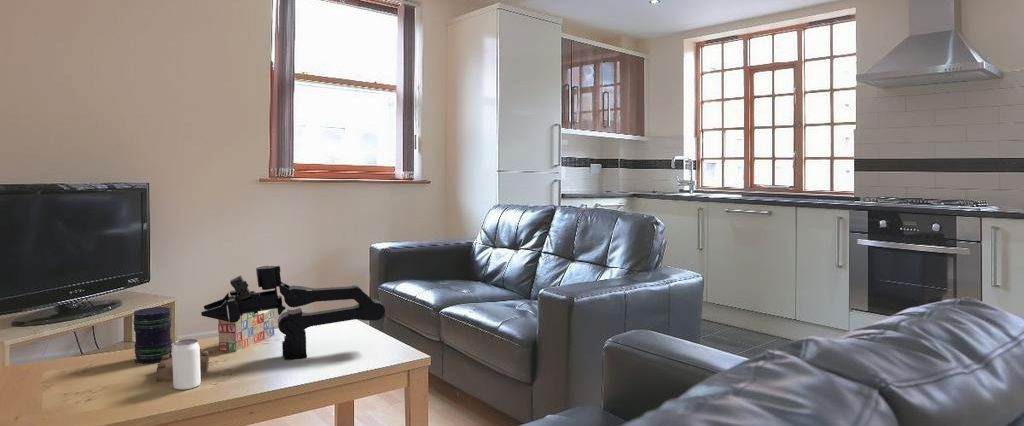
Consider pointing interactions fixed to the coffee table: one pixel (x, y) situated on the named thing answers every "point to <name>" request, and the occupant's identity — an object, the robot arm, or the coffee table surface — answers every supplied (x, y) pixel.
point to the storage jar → (152, 334)
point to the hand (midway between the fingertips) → (202, 310)
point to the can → (186, 364)
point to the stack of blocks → (245, 330)
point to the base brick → (167, 367)
